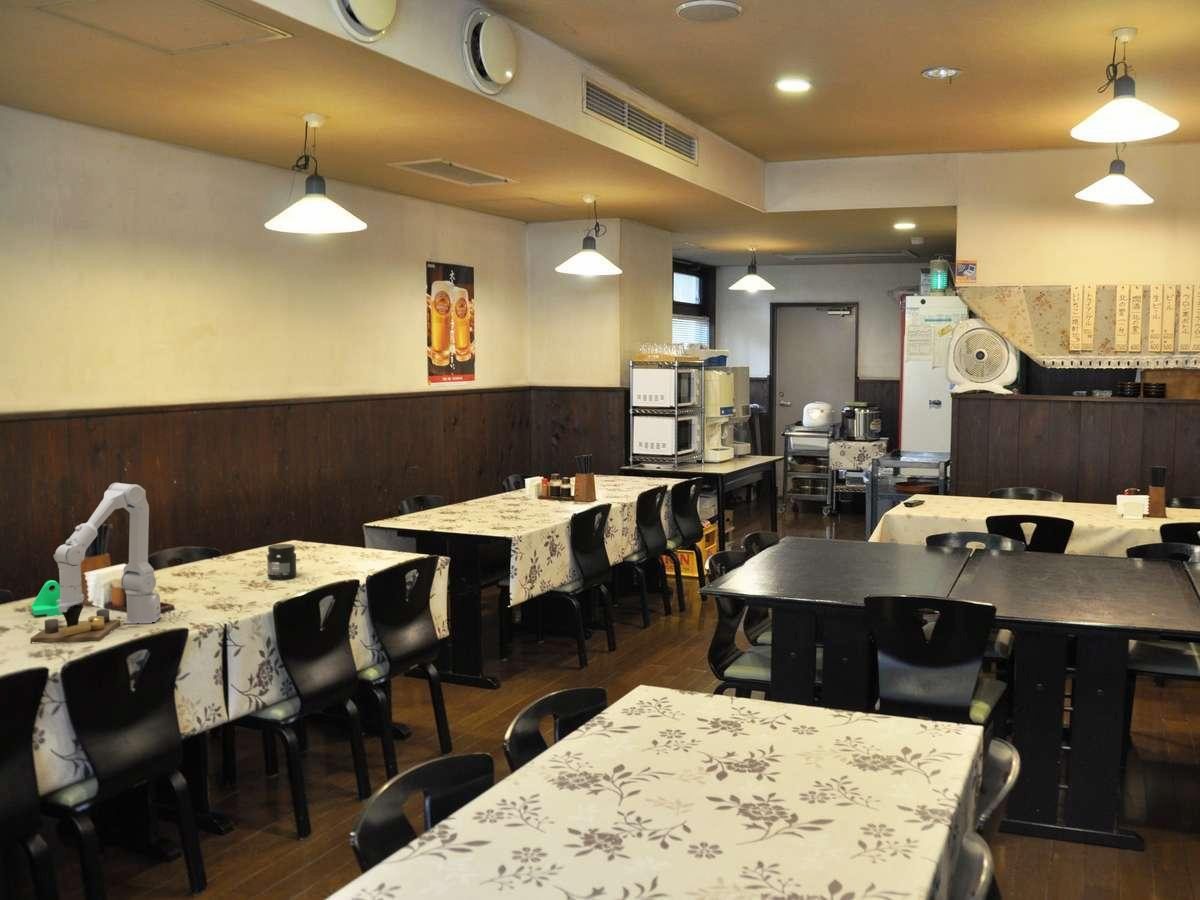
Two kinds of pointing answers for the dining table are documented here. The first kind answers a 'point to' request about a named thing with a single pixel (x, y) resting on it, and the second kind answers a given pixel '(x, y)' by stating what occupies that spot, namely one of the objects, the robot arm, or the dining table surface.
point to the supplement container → (281, 562)
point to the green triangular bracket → (47, 600)
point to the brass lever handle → (85, 626)
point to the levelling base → (56, 633)
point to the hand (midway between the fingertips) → (72, 630)
